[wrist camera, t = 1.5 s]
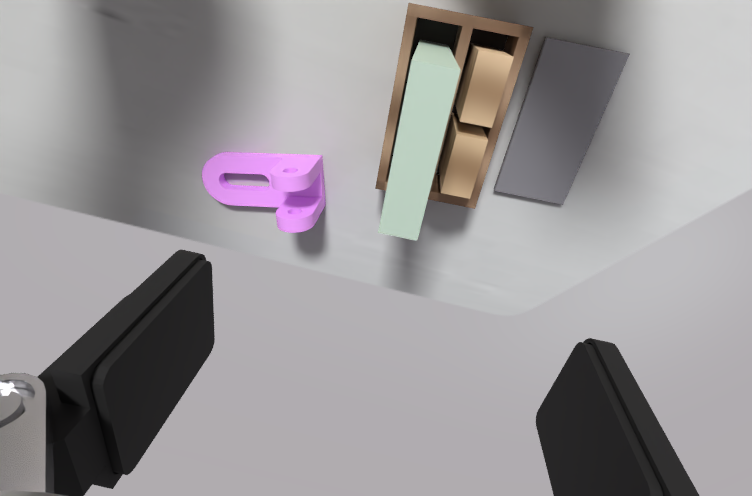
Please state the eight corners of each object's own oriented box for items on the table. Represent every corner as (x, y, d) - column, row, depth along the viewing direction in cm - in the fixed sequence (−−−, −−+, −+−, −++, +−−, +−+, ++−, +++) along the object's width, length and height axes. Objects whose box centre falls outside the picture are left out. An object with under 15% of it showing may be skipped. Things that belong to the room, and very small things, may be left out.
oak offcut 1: (469, 42, 36) (478, 50, 29) (497, 48, 36) (513, 57, 29) (454, 101, 38) (459, 121, 31) (480, 106, 38) (491, 127, 31)
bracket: (322, 154, 42) (304, 178, 36) (325, 204, 45) (309, 233, 39) (203, 150, 44) (167, 172, 38) (213, 199, 46) (181, 226, 40)
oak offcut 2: (451, 112, 39) (456, 134, 32) (477, 117, 39) (488, 140, 32) (438, 162, 41) (440, 193, 34) (463, 167, 41) (469, 198, 34)
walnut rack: (411, 4, 35) (408, 2, 30) (520, 25, 34) (533, 27, 30) (381, 170, 42) (375, 188, 38) (470, 188, 42) (474, 208, 38)
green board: (420, 39, 36) (411, 60, 20) (447, 45, 36) (460, 69, 20) (398, 149, 41) (377, 232, 26) (422, 154, 41) (417, 240, 25)
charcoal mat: (545, 37, 35) (547, 37, 34) (626, 53, 35) (629, 53, 34) (493, 188, 42) (494, 190, 41) (561, 202, 42) (562, 204, 41)
